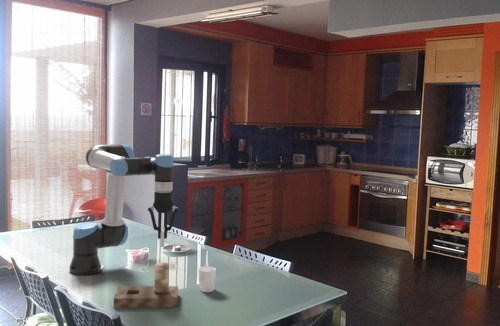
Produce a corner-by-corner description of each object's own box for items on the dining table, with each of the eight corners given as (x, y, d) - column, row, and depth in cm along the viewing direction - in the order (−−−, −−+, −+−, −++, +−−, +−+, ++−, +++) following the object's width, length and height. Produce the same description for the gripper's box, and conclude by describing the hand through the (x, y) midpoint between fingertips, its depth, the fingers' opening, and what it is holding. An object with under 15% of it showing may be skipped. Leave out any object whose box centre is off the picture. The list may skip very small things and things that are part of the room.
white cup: (198, 286, 233) (198, 266, 232) (215, 286, 233) (215, 266, 232) (197, 292, 225) (198, 271, 224) (215, 293, 226) (216, 271, 225)
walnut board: (113, 307, 205) (113, 298, 204) (118, 295, 218) (118, 286, 218) (177, 307, 208) (177, 297, 207) (178, 294, 222) (178, 286, 221)
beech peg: (153, 303, 210) (154, 267, 209) (154, 298, 216) (155, 262, 215) (168, 303, 211) (169, 267, 210) (168, 298, 217) (169, 262, 216)
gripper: (147, 192, 205) (146, 248, 207) (178, 192, 206) (177, 248, 209) (148, 189, 212) (147, 243, 214) (179, 190, 214) (177, 243, 216)
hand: (162, 245), depth 211 cm, fingers closed
